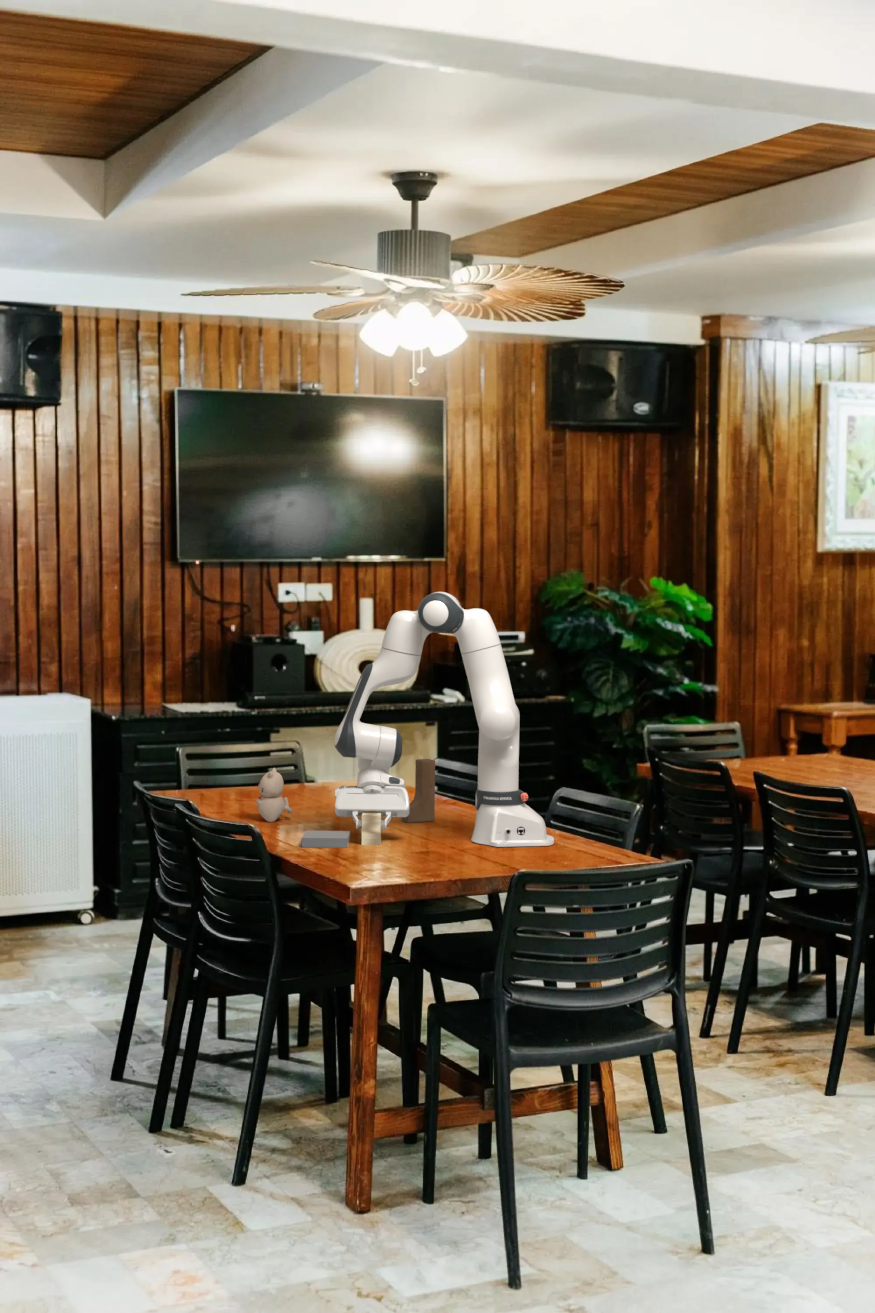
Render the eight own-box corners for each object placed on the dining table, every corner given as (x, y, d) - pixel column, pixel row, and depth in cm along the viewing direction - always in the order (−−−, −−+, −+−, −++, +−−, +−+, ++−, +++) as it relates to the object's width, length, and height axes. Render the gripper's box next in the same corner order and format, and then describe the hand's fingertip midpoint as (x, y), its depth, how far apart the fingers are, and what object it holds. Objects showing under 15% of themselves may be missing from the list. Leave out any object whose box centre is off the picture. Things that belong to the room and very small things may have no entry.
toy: (260, 816, 456) (260, 766, 455) (295, 817, 455) (295, 766, 455) (253, 822, 444) (253, 771, 443) (289, 823, 443) (289, 771, 442)
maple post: (380, 842, 413) (381, 812, 413) (380, 845, 408) (380, 815, 408) (362, 842, 413) (362, 812, 413) (361, 845, 408) (361, 815, 408)
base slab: (350, 840, 416) (350, 831, 415) (347, 847, 404) (347, 838, 403) (305, 839, 416) (305, 830, 415) (301, 847, 404) (301, 838, 403)
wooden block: (407, 823, 445) (408, 761, 445) (400, 821, 449) (401, 760, 449) (435, 821, 450) (435, 760, 449) (428, 819, 454) (428, 758, 453)
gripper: (334, 779, 417) (332, 820, 407) (409, 779, 417) (408, 821, 407) (335, 793, 421) (333, 834, 412) (410, 793, 421) (409, 834, 412)
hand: (371, 827), depth 410 cm, fingers open, 5 cm apart
